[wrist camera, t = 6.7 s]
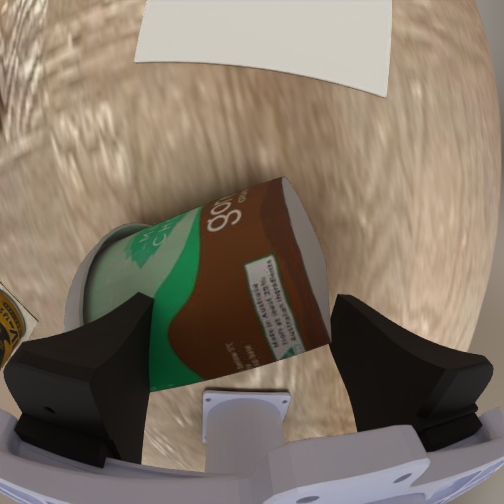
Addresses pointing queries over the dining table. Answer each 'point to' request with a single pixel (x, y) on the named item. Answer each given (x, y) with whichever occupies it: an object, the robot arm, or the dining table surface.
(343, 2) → the mat
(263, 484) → the robot arm
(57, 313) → the dining table surface
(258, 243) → the food container
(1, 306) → the condiment
